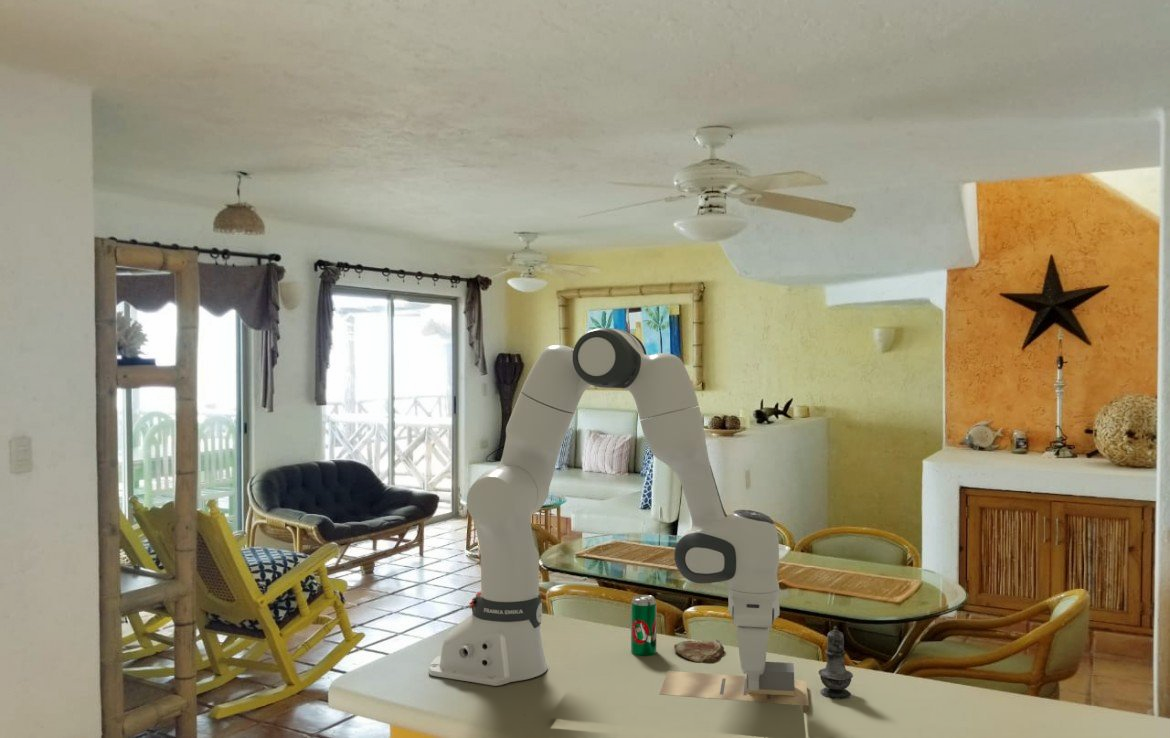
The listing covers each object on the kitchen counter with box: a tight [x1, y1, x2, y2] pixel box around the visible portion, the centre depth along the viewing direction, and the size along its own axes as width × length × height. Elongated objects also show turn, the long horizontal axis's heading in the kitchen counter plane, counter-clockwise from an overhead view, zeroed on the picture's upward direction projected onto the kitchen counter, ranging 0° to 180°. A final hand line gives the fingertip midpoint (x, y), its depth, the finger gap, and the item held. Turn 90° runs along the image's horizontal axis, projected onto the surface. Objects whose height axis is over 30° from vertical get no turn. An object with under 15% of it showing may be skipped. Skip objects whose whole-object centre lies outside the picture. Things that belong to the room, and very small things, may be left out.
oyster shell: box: [673, 639, 725, 664], centre depth 172 cm, size 13×10×3 cm
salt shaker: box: [818, 625, 854, 700], centre depth 152 cm, size 6×6×12 cm
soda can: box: [630, 594, 657, 657], centre depth 172 cm, size 5×5×12 cm
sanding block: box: [746, 661, 795, 696], centre depth 151 cm, size 8×5×4 cm, turn 78°
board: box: [659, 670, 810, 714], centre depth 152 cm, size 25×12×1 cm, turn 78°
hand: (754, 682), depth 151 cm, fingers closed on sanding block, 5 cm apart
